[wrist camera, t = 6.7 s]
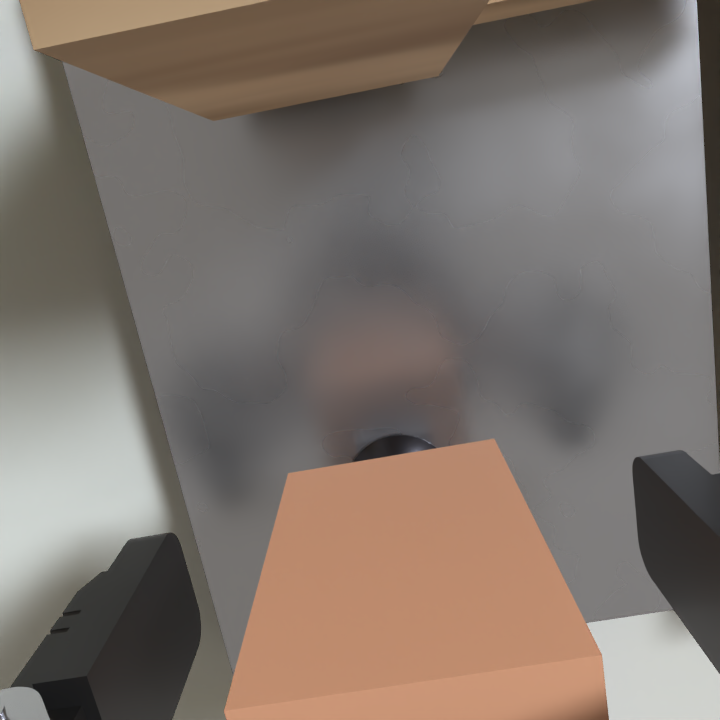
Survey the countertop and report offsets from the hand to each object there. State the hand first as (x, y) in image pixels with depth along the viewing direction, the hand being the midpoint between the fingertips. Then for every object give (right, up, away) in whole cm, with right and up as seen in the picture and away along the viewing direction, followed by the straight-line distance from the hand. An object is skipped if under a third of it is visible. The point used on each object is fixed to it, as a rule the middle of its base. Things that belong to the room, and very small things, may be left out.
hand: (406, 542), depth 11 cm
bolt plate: (0, +4, +2) cm, 5 cm away
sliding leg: (0, +1, +2) cm, 2 cm away
